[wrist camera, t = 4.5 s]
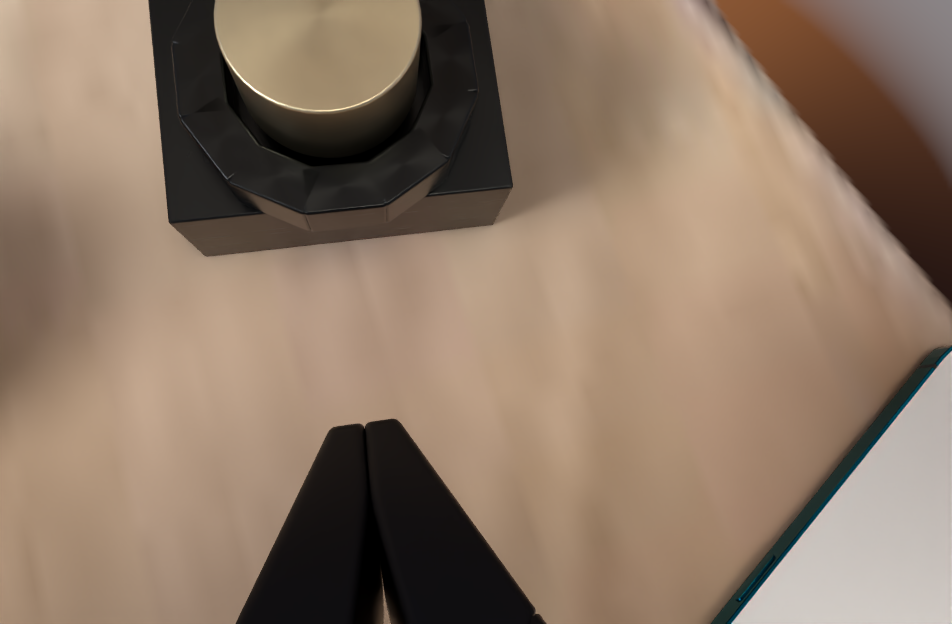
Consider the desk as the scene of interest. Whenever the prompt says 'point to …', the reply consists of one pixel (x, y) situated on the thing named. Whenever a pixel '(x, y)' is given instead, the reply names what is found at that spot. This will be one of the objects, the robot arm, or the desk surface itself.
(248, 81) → the light button
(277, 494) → the desk surface
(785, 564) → the smartphone
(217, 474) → the desk surface
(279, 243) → the light box
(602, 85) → the desk surface
